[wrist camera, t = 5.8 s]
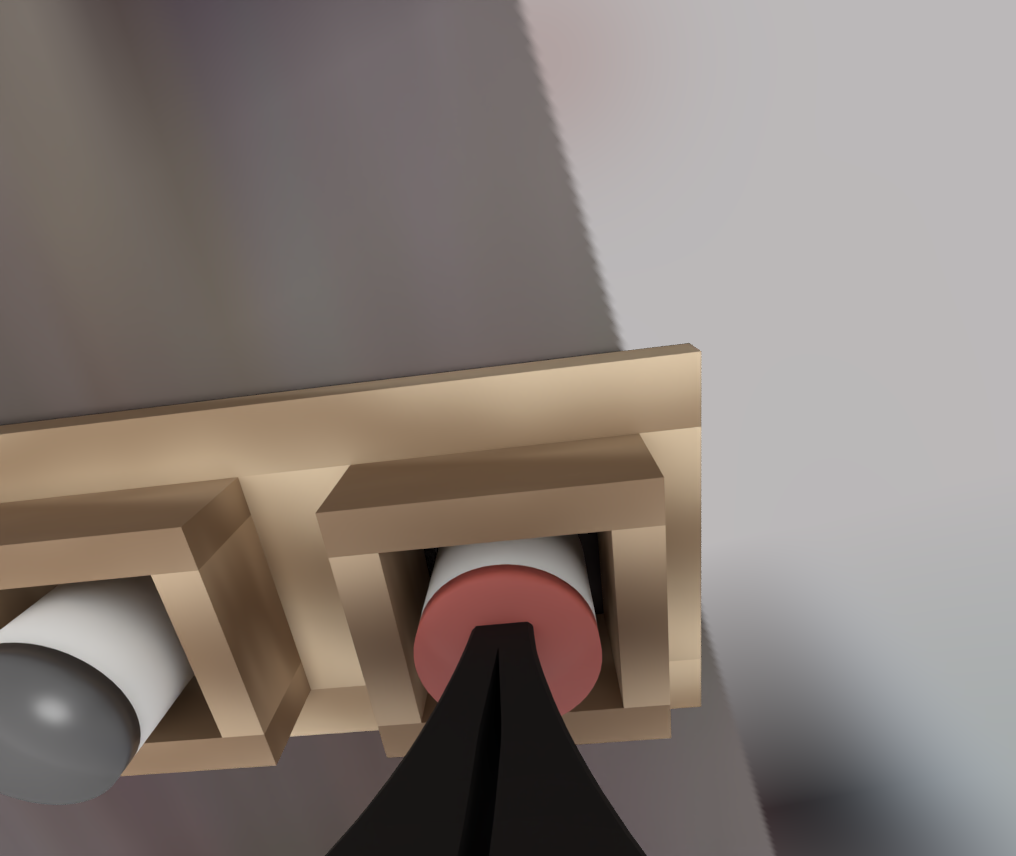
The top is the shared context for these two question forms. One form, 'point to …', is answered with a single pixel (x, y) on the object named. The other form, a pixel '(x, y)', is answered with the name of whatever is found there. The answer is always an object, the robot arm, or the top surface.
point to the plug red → (513, 610)
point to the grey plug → (84, 687)
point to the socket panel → (370, 537)
